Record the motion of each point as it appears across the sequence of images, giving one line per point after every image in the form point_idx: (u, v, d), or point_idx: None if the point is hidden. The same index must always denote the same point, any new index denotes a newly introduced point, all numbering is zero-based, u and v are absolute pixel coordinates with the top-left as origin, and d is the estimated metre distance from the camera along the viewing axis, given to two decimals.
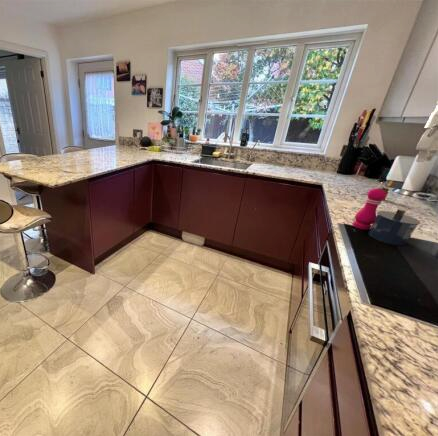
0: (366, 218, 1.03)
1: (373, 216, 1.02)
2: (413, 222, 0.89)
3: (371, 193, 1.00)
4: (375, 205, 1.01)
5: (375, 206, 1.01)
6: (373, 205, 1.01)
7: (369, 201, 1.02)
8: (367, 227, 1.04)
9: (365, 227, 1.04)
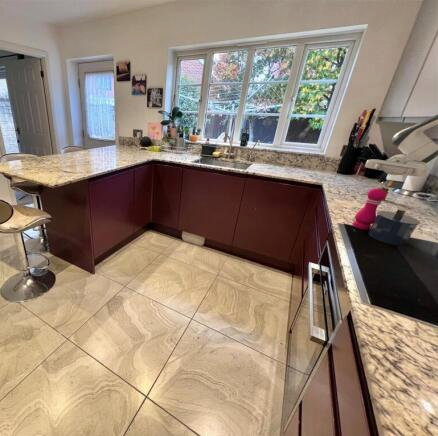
0: (366, 218, 1.03)
1: (373, 216, 1.02)
2: (413, 222, 0.89)
3: (371, 193, 1.00)
4: (375, 205, 1.01)
5: (375, 206, 1.01)
6: (373, 205, 1.01)
7: (369, 201, 1.02)
8: (367, 227, 1.04)
9: (365, 227, 1.04)
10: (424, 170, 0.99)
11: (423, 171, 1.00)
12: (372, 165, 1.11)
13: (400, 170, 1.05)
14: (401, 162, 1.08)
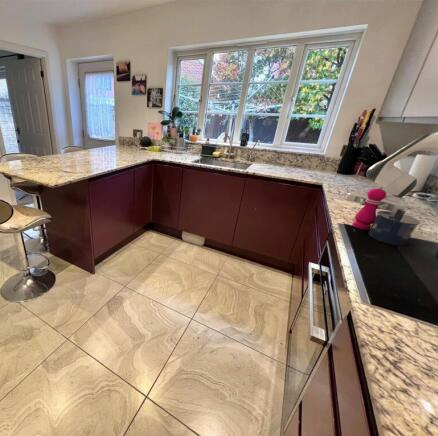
0: (366, 218, 1.03)
1: (373, 216, 1.02)
2: (413, 222, 0.89)
3: (371, 193, 1.00)
4: (375, 205, 1.01)
5: (375, 206, 1.01)
6: (373, 205, 1.01)
7: (369, 201, 1.02)
8: (367, 227, 1.04)
9: (365, 227, 1.04)
10: (403, 207, 0.98)
11: (402, 208, 0.98)
12: (353, 199, 1.10)
13: None
14: None
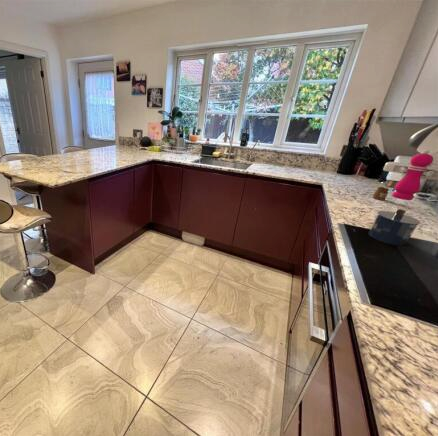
0: (409, 186, 0.94)
1: (417, 184, 0.93)
2: (413, 222, 0.89)
3: (415, 158, 0.92)
4: (420, 172, 0.92)
5: (420, 173, 0.92)
6: (418, 172, 0.93)
7: (413, 168, 0.93)
8: (410, 197, 0.96)
9: (407, 197, 0.96)
10: None
11: None
12: (392, 168, 1.02)
13: (424, 174, 0.95)
14: None
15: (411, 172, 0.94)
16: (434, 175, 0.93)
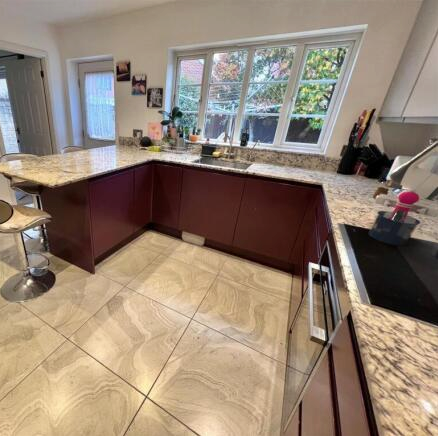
0: None
1: None
2: (413, 222, 0.89)
3: (402, 196, 0.98)
4: (407, 209, 0.98)
5: (407, 209, 0.99)
6: (405, 209, 0.99)
7: (400, 204, 0.99)
8: None
9: None
10: (437, 211, 0.96)
11: (436, 211, 0.96)
12: (382, 201, 1.08)
13: (411, 209, 1.01)
14: None
15: (399, 208, 1.00)
16: None
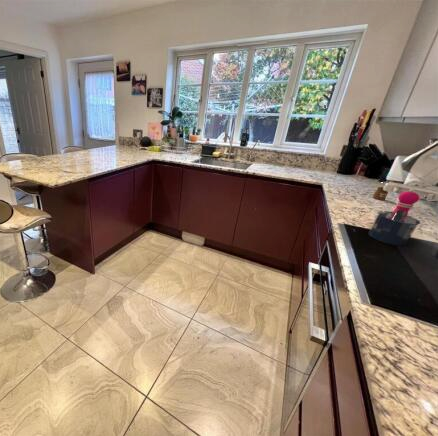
0: None
1: None
2: (413, 222, 0.89)
3: (402, 196, 0.98)
4: (407, 209, 0.98)
5: (407, 209, 0.99)
6: (405, 209, 0.99)
7: (401, 204, 0.99)
8: None
9: None
10: None
11: None
12: (391, 188, 1.13)
13: (419, 195, 1.07)
14: (420, 186, 1.10)
15: (399, 208, 1.00)
16: None
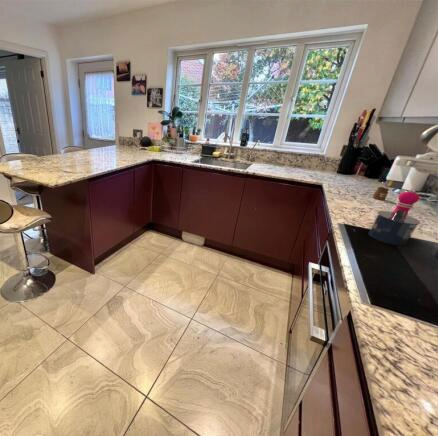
0: None
1: None
2: (413, 222, 0.89)
3: (402, 196, 0.98)
4: (407, 209, 0.98)
5: (407, 209, 0.99)
6: (405, 209, 0.99)
7: (400, 204, 0.99)
8: None
9: None
10: None
11: None
12: (404, 163, 1.08)
13: (435, 167, 1.02)
14: (435, 159, 1.04)
15: (399, 208, 1.00)
16: None
